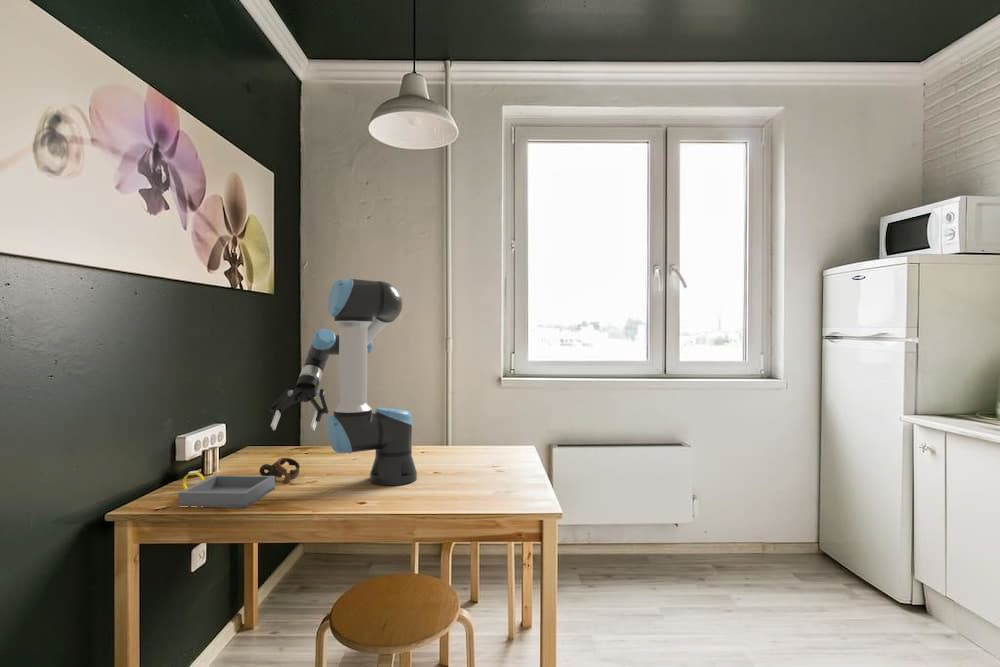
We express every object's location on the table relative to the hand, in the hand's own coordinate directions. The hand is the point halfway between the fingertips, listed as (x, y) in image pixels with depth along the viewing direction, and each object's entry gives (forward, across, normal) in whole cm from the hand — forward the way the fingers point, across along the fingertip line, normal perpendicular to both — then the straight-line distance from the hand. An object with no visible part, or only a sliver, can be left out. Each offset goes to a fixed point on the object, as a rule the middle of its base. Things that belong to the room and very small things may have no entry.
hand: (292, 428), depth 184 cm
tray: (+31, +7, +10) cm, 33 cm away
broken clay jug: (+18, 0, -4) cm, 18 cm away
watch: (+27, +21, +5) cm, 34 cm away
